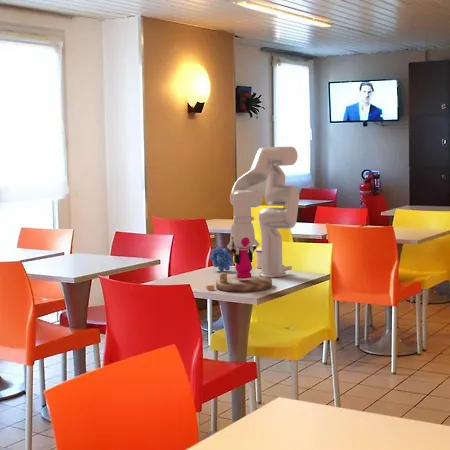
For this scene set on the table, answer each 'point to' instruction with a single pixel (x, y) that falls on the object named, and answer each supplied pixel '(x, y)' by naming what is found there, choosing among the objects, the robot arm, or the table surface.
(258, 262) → the teacup with lid
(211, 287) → the block
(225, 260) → the blue lumpy piece
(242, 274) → the pepper mill
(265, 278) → the disc
